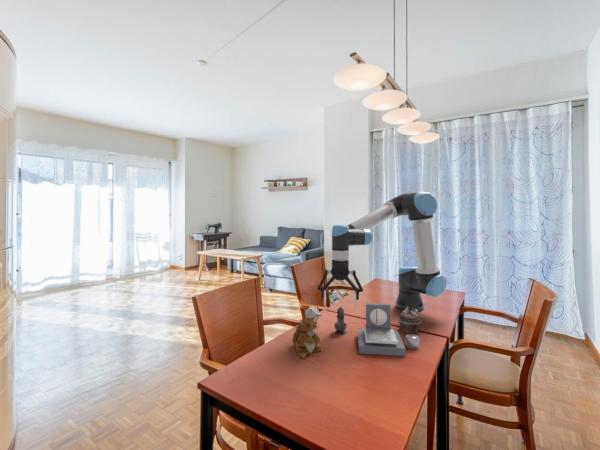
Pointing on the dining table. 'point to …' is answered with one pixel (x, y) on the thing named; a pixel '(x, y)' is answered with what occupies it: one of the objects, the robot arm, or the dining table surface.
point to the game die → (312, 313)
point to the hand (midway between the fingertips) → (339, 306)
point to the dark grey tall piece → (340, 322)
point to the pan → (380, 336)
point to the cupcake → (410, 320)
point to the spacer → (412, 341)
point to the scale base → (380, 319)
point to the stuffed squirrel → (306, 337)
